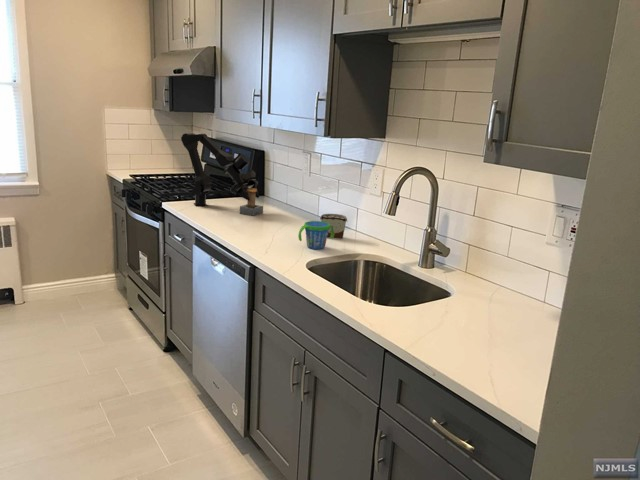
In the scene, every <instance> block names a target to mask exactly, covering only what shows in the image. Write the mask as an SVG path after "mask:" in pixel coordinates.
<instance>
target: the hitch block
mask: <svg viewBox="0 0 640 480" xmlns="http://www.w3.org/2000/svg"><path fill="white" fill-rule="evenodd" d="M262 214H264V206H263V205H259V204H255V207H254V208H252V207H247V203H246V204H243V205H239V215H244V216H245V215H246V216H250V217H257V216H260V215H262Z"/></svg>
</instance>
